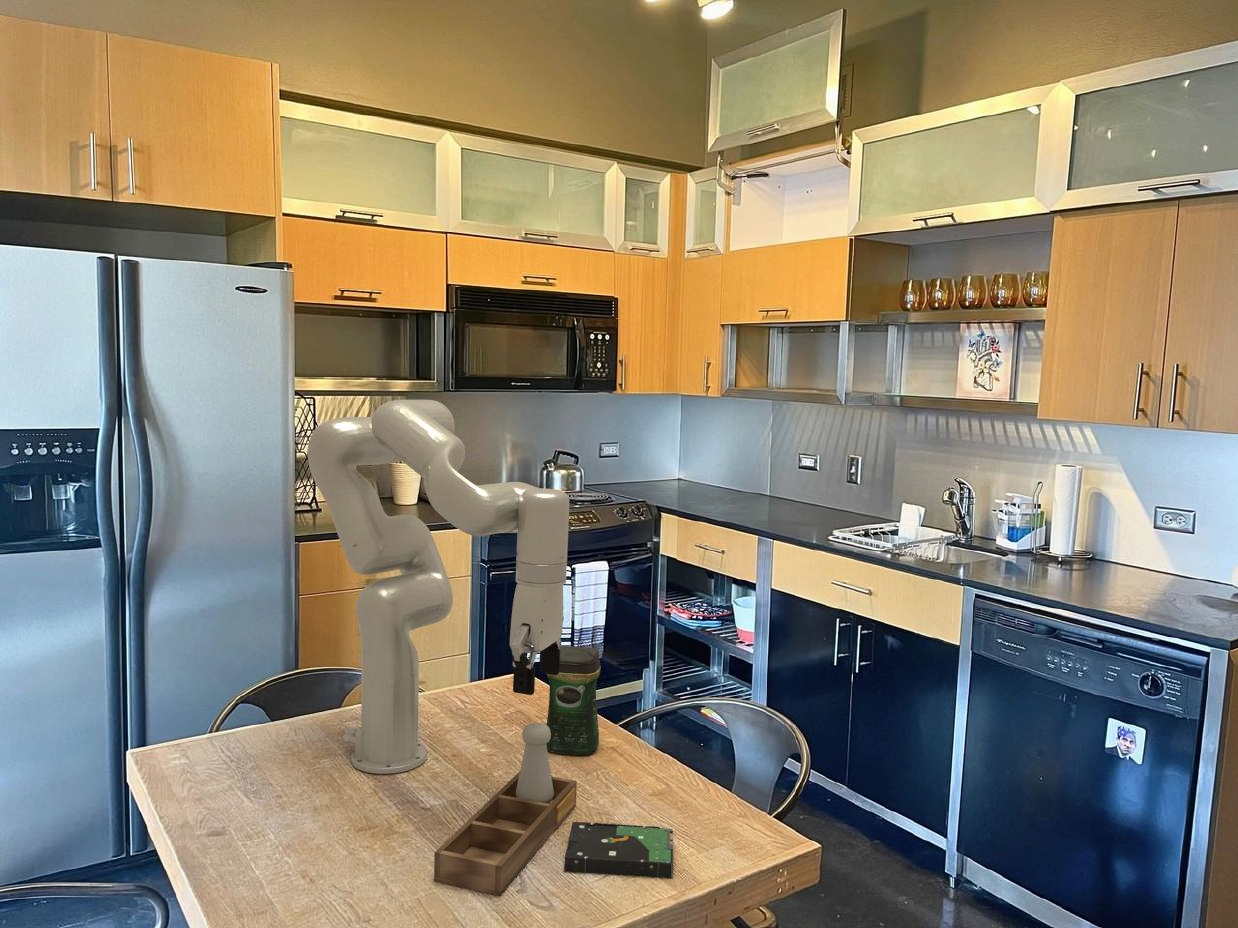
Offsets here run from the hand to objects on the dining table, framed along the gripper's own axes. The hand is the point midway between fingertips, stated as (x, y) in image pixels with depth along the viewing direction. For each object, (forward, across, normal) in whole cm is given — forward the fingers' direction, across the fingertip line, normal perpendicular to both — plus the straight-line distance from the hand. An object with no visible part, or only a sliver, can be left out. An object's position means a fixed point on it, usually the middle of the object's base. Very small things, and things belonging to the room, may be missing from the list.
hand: (536, 682), depth 140 cm
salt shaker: (+20, 0, +1) cm, 20 cm away
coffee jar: (+21, -26, -3) cm, 33 cm away
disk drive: (+21, +7, +17) cm, 28 cm away
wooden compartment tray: (+20, +9, +1) cm, 22 cm away
